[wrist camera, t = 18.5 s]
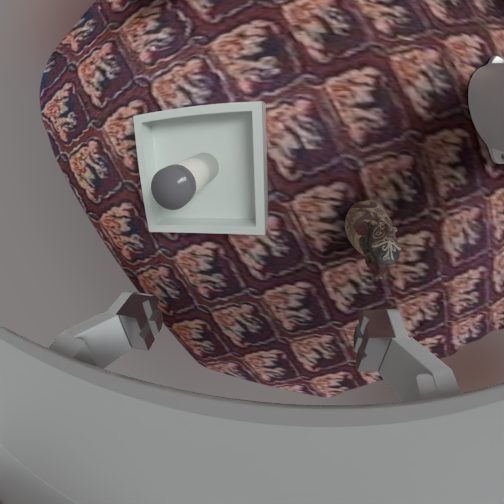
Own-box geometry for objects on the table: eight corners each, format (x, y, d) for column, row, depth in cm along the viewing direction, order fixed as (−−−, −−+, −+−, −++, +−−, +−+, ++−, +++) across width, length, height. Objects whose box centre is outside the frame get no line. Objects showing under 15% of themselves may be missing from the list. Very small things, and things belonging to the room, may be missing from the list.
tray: (265, 102, 34) (261, 101, 30) (268, 224, 42) (264, 235, 39) (147, 114, 37) (133, 116, 33) (160, 222, 45) (149, 232, 42)
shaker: (219, 150, 37) (188, 165, 27) (221, 182, 39) (193, 209, 29) (187, 152, 38) (148, 168, 28) (190, 183, 40) (154, 210, 30)
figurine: (396, 211, 38) (425, 247, 27) (375, 250, 41) (395, 295, 31) (356, 192, 38) (376, 223, 27) (336, 233, 41) (346, 276, 31)
